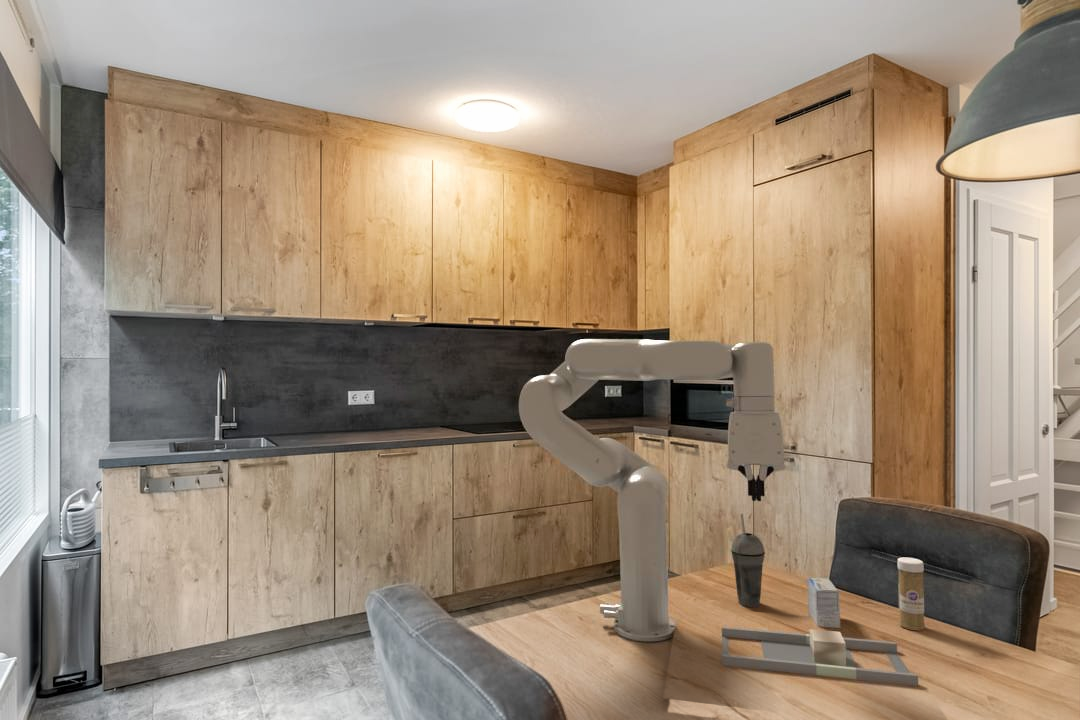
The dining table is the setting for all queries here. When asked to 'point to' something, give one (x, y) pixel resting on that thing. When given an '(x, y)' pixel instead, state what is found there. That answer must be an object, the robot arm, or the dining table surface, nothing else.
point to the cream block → (827, 647)
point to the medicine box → (823, 602)
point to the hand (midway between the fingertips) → (756, 499)
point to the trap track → (796, 657)
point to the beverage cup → (748, 567)
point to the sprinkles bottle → (911, 593)
